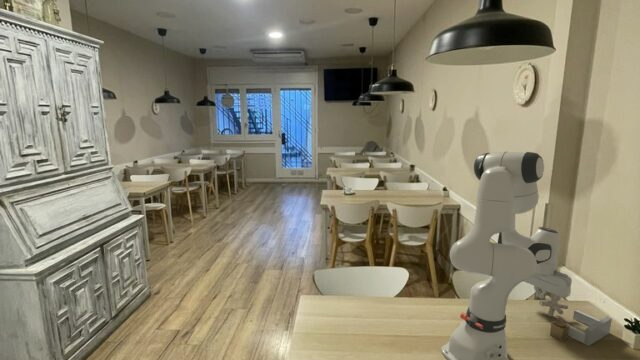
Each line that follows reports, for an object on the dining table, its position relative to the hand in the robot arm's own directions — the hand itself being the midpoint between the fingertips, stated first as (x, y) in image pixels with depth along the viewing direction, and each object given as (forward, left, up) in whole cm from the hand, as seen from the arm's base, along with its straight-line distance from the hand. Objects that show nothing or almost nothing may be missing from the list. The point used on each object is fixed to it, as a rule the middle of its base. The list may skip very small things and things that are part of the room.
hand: (539, 297), depth 142 cm
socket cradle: (0, -15, -6) cm, 16 cm away
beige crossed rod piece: (0, -5, -6) cm, 8 cm away
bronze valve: (-11, -14, -6) cm, 19 cm away
